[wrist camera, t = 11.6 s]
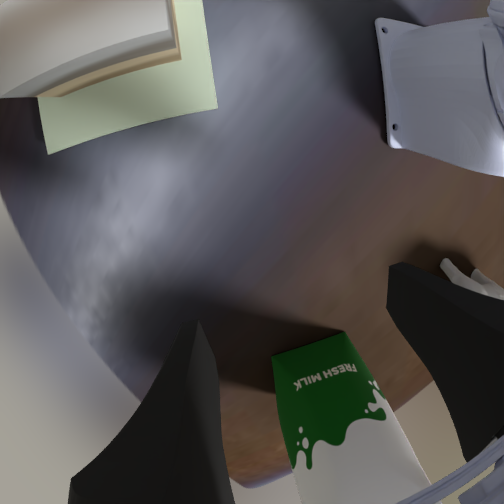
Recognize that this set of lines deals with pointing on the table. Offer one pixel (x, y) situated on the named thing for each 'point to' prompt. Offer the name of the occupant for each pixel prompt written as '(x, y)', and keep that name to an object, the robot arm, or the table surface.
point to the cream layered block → (81, 43)
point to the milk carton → (341, 428)
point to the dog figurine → (472, 280)
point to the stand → (137, 91)
